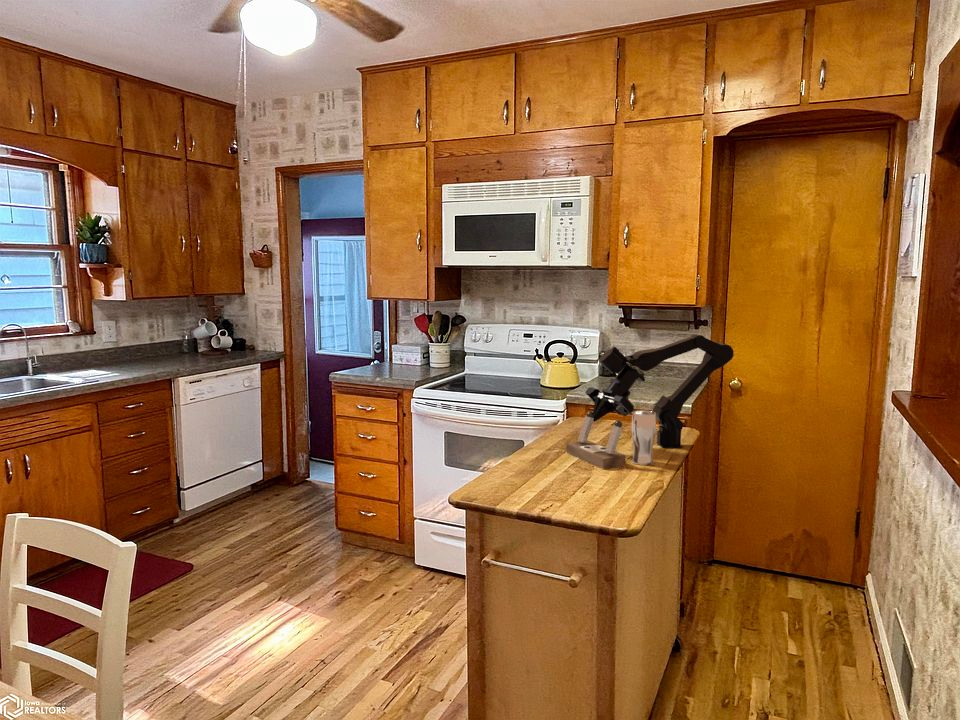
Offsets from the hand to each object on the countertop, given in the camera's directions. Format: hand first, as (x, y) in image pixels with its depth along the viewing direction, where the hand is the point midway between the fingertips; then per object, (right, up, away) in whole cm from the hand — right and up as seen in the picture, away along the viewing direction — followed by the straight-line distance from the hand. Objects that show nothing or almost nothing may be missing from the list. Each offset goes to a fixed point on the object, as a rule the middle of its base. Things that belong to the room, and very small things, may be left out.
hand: (592, 420), depth 203 cm
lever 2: (+2, -8, -14) cm, 16 cm away
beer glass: (+13, -12, -10) cm, 20 cm away
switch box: (-1, -11, -7) cm, 13 cm away
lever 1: (-4, -6, -1) cm, 7 cm away
